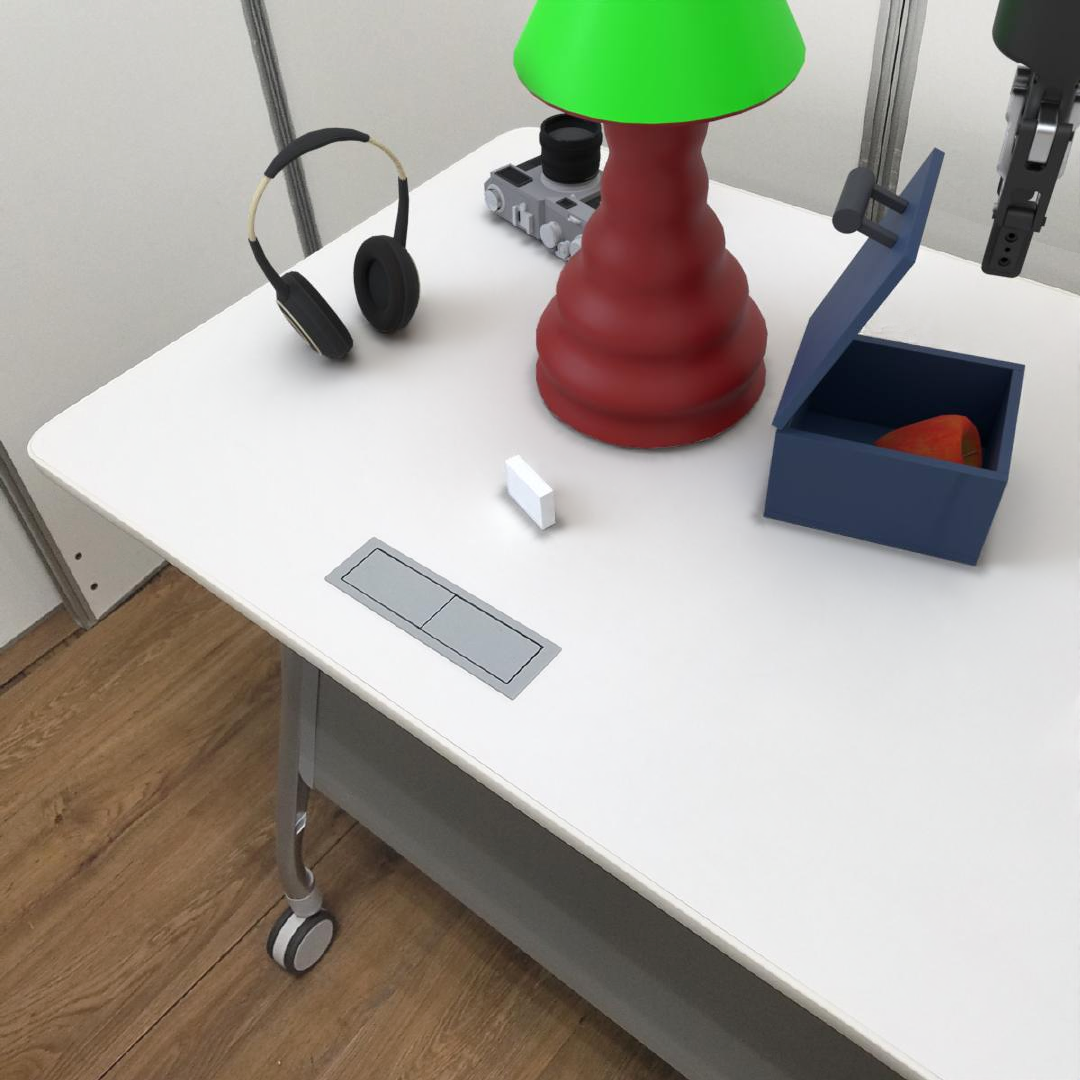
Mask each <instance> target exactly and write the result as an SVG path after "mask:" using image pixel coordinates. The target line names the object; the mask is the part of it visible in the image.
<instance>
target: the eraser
mask: <svg viewBox="0 0 1080 1080" xmlns="http://www.w3.org/2000/svg"><path fill="white" fill-rule="evenodd" d="M504 467H505V475H506V485H507V493H508V495H509V496H510V497H511V498H512V499H513V500H514V501H515V502H516V503H517V505H518V506H519V507H520V508H521V509H522V510H523V511H524V512H525V513H526V514H527V516H529V518H531V519H532V520H533V521H534V522H535V524H536V525H537V527H539V528H540V529H541V530H542V531H543V530H545V529H547V528H549V527H551V526H553V525H554V524H556V510H555V498H554V497H555V496H554V495H555V494H554V489H552V487H551V486H550V485H548V483H546V481H545V480H544V479H543V478H542V477H541V476H540V475H539V474H538V473H537V472H536V471H535V470H534V469H533V468H532V467H531V466H530V465H529V464H528V463H527V462H526V461H525V460H524V459H523V458H522V457H521V456H520V455H519V454H515V455H514V456H512V457H510V458H508V459H506V460H504Z"/></svg>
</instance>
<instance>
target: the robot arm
mask: <svg viewBox="0 0 1080 1080" xmlns="http://www.w3.org/2000/svg"><path fill="white" fill-rule="evenodd" d="M991 36H992V40H993V44H994V45H995V47H996V49H998V51H999V52H1000V53H1001V54H1002V55H1003V56H1005V57H1006V58H1008V59H1009V60H1011V61H1012V62H1014V63H1015V64H1017V65H1016V70H1015V73H1014V76H1013V80H1012V85H1011V89H1010V92H1009V95H1010V96H1009V99H1008V104H1007V107H1006V112H1005V114H1004V115H1005V120H1006V123H1007V126H1006V130H1005V134H1004V138H1003V141H1002V146H1001V149H1000V153H999V157H998V161H997V165H996V172H997V173H998V175H999V176H1000V177H999V181H998V184H997V190H996V194H997V196H998V198H997V202H994V203H993V207H992V215H991V220H993V222H992V226H991V228H990V233H989V236H988V239H987V243H986V246H985V250H984V253H983V257H982V259H981V265H980V269H981V272H983V273H984V274H985V275H989V276H995V277H1003V278H1008V279H1014V278H1017V277H1018V276H1020V274H1021V273H1022V270H1023V267H1024V264H1025V261H1026V258H1027V254H1028V252H1029V248H1030V246H1031V242H1032V240H1033V236H1034V233H1040V232H1041V230H1042V227H1045V225H1046V222H1047V218H1048V217H1047V216H1046V214H1047V212H1048V208H1049V205H1050V202H1051V199H1052V196H1053V193H1054V189H1055V188H1056V187H1055V186H1056V183H1057V182H1058V181H1059V180H1061V178H1062V177H1063V176H1064V174H1065V171H1066V167H1067V164H1068V160H1069V156H1070V153H1071V149H1072V145H1073V141H1074V138H1075V134H1076V131H1077V130H1078V129H1079V128H1080V0H998V4H997V8H996V12H995V16H994V21H993V24H992V30H991ZM1019 64H1022V65H1019ZM1036 193H1037V194H1036ZM1035 194H1036V198H1035V200H1032V199H1033V198H1034V196H1035Z"/></svg>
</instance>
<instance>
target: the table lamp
mask: <svg viewBox="0 0 1080 1080" xmlns="http://www.w3.org/2000/svg"><path fill="white" fill-rule="evenodd" d="M806 50H807V47H806V45H805V41H804V38H803V36H802V33H801V30H800V29H799V26H798V24H797V21H796V19H795V17H794V15H793V13H792V10H791V8H790V5H789V3H788V1H787V0H536V1H535V4H534V6H533V8H532V10H531V12H530V15H529V17H528V19H527V21H526V24H525V25H524V28H523V30H522V32H521V34H520V37H519V39H518V40H517V43H516V45H515V47H514V49H513V56H512V57H513V59H512V65H513V68H514V71H515V73H516V75H517V78H518V80H519V82H520V83H521V84H522V85H523V86H524V87H525V88H526V90H527V91H528V92H529V93H530V94H531V95H532V96H533V97H535V98H536V99H538V100H539V101H541V102H542V103H543V104H545V105H547V106H548V107H549V108H553V109H555V110H557V111H559V112H562V113H566V114H568V115H571V116H575V117H578V118H582V119H586V120H589V121H593V122H598V123H601V124H602V129H603V133H604V134H603V135H604V137H605V140H606V145H607V147H608V156H607V159H606V162H605V164H604V167H603V170H602V171H603V173H602V177H601V181H600V190H601V204H600V205H599V207H598V208H597V209H596V210H595V211H594V213H593V214H592V215H591V217H590V218H589V220H588V222H587V223H586V225H585V227H584V230H583V234H582V239H581V248H580V249H579V250H578V251H577V252H576V253H575V254H574V255H573V256H572V257H571V258H570V259H569V261H566V263H565V265H564V266H563V268H562V269H561V271H560V272H559V276H558V279H557V282H556V285H555V286H556V287H555V295H554V296H552V297H551V299H550V300H549V302H548V304H547V305H546V306H545V308H544V310H543V312H541V315H540V317H539V320H538V322H537V326H536V329H535V346H536V351H537V355H538V357H537V361H536V364H535V379H536V380H535V381H536V384H537V388H538V392H539V394H540V396H541V398H542V400H543V402H544V403H545V405H546V406H547V408H548V410H549V411H551V412H552V414H554V416H556V417H557V418H558V419H559V420H560V421H561V422H562V423H564V424H566V425H568V426H569V427H570V428H572V429H574V430H576V431H577V432H579V433H580V434H583V435H586V436H588V437H590V438H591V439H595V440H597V441H600V442H602V443H606V444H610V445H613V446H617V447H622V448H629V449H630V448H631V449H644V450H648V449H650V450H651V449H663V448H664V449H665V448H674V447H681V446H686V445H687V446H688V445H693V444H696V443H698V442H702V441H705V440H708V439H711V438H713V437H715V436H717V435H719V434H720V433H722V432H724V431H726V430H728V429H730V428H731V427H734V426H735V425H736V424H737V423H738V422H740V421H741V420H742V419H743V418H744V417H746V416H747V415H748V414H749V413H750V412H751V410H752V409H753V408H754V406H756V404H757V403H758V401H760V398H761V395H762V393H763V391H764V388H765V386H766V379H767V377H766V376H767V368H766V363H765V359H764V358H765V355H766V351H767V347H768V346H767V345H768V336H769V335H768V334H769V333H768V328H767V323H766V319H765V316H764V315H763V314H762V311H761V310H760V308H759V306H758V305H757V303H756V302H755V300H754V298H752V297H751V295H750V287H749V286H750V285H749V281H748V276H747V273H746V271H745V270H744V269H743V266H742V264H741V263H740V262H739V260H738V259H737V257H735V256H734V254H732V252H730V250H729V249H728V248H726V244H727V242H726V240H727V239H726V234H725V230H724V229H725V228H724V226H723V224H722V222H721V220H720V218H719V217H718V215H717V213H716V212H715V211H714V210H713V208H712V207H711V206H710V205H709V203H708V195H709V189H710V179H709V173H708V169H707V165H706V163H705V160H704V158H703V154H702V153H703V152H702V150H703V149H702V148H703V145H704V143H705V140H706V138H707V134H708V130H709V126H710V125H709V124H710V123H713V122H718V121H720V120H724V119H727V118H731V117H735V116H739V115H742V114H744V113H747V112H749V111H751V110H753V109H756V108H758V107H761V106H763V105H765V104H767V103H768V102H770V101H771V100H773V99H774V98H776V97H778V96H779V95H782V93H783V92H784V91H785V90H787V88H788V87H789V86H790V85H791V84H793V82H795V80H796V78H797V77H798V75H799V74H800V72H801V70H802V68H803V66H804V65H805V61H806Z"/></svg>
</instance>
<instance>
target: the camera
mask: <svg viewBox="0 0 1080 1080" xmlns="http://www.w3.org/2000/svg"><path fill="white" fill-rule="evenodd" d="M539 127H540V128H539V130H540V131H539V134H538V143H539V145H540V154H539V155H537V156H535V157H532V158H530V159H528V160H526V161H523V162H521V163H519V164H517V165H514V164H512V163H508V164H505V165H503V166H501V167H499V168H496V169H494V170H491V171H490V172H489V174H490V177H489V178H488V179H487V180H486V181H485V182H484V183H483V189H484V196H483V197H484V202H485V204H486V207H487V208H488V209H489V210H490V211H491V212H493V213H495V215H498V216H500V217H501V218H503V219H505V220H506V221H508V222H509V223H511V224H512V225H513V226H514V227H518V228H519V229H521V230H522V231H524V232H526V234H528V235H530V236H532V237H534V238H535V239H537V240H541V242H542V243H543V244H544V245H545V247H547V248H549V249H553V248H555V247H557V250H555V251H554V254H555V255H556V257H558V258H559V259H562V260H564V261H565V262H568V261H569V259H570V258H571V257H572V256H573V255H574V254H575V253H576V252H577V251H578V250H579V249H580V248H581V239H582V234H583V230H584V227H585V225H586V223H587V222H588V220H589V218H590V217H591V215H592V214H593V213H594V211H595V210H596V209H597V208H598V207H599V205H600V204H601V190H600V181H601V177H602V173H603V170H601V169H600V166H601V159H602V154H601V153H602V151H601V148H602V145H603V141H604V134H603V133H604V132H603V124H602V123H598V122H593V121H589V120H586V119H582V118H578V117H575V116H571V115H568V114H566V113H564V112H562V113H557V114H554V115H551V116H548V117H547V118H545V119H544V120H543V121H541V123H540V126H539Z"/></svg>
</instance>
